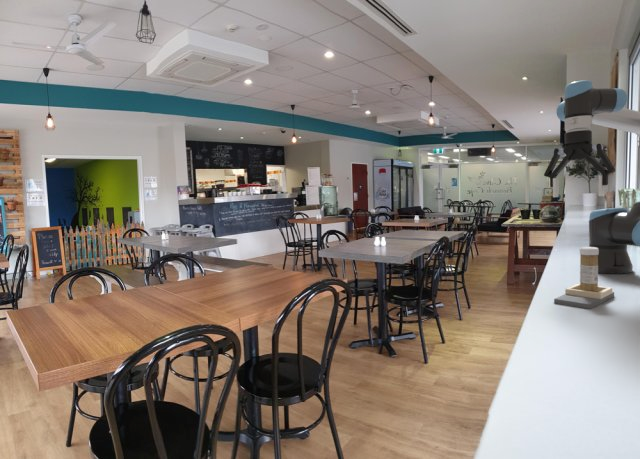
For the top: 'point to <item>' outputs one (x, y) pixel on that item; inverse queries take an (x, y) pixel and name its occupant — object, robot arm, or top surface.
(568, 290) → the slate base board
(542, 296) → the top surface
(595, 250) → the sprinkles bottle
